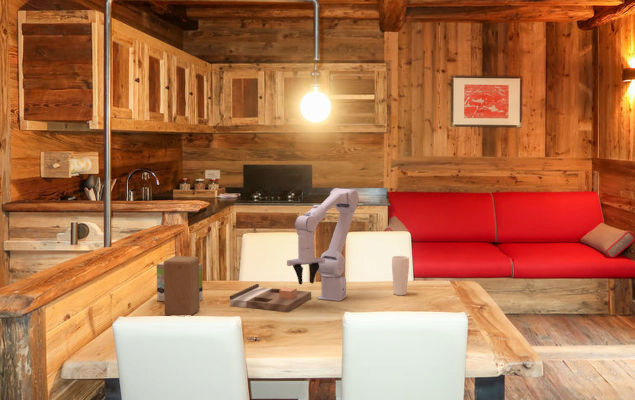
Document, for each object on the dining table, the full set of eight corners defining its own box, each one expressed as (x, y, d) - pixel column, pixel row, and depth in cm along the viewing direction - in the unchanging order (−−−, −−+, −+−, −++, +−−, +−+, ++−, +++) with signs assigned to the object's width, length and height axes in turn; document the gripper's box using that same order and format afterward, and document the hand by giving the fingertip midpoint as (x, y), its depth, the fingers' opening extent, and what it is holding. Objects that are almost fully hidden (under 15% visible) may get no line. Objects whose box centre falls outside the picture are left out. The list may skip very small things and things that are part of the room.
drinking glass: (408, 292, 264) (408, 256, 263) (409, 296, 258) (409, 259, 256) (391, 292, 265) (391, 255, 263) (391, 296, 258) (392, 258, 257)
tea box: (156, 301, 251) (155, 263, 249) (173, 295, 260) (172, 259, 258) (187, 306, 244) (186, 267, 242) (203, 300, 253) (203, 262, 251)
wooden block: (190, 317, 228) (188, 261, 226) (163, 316, 230) (162, 260, 228) (200, 310, 238) (199, 256, 236) (175, 308, 240) (174, 255, 238)
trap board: (311, 298, 255) (311, 288, 255) (288, 312, 235) (288, 302, 234) (256, 292, 264) (256, 283, 264) (229, 305, 244) (229, 296, 243)
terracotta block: (296, 296, 248) (296, 288, 248) (291, 299, 243) (291, 291, 243) (284, 295, 250) (284, 287, 249) (279, 298, 245) (279, 290, 245)
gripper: (320, 244, 248) (320, 279, 249) (284, 247, 243) (284, 282, 244) (327, 247, 242) (327, 283, 243) (289, 250, 237) (290, 286, 238)
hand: (306, 283), depth 243 cm, fingers open, 4 cm apart
